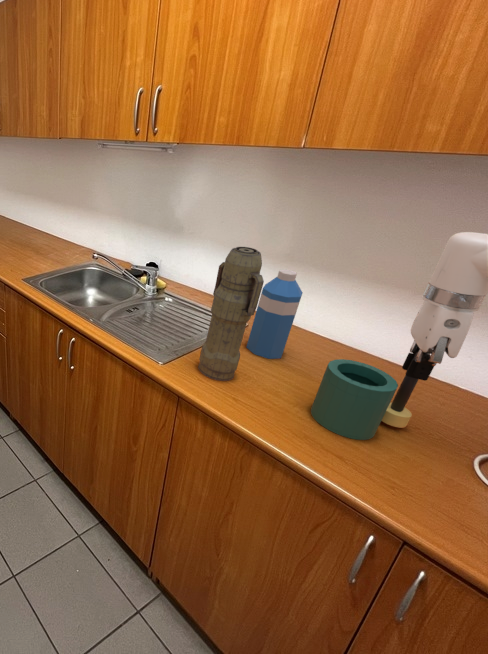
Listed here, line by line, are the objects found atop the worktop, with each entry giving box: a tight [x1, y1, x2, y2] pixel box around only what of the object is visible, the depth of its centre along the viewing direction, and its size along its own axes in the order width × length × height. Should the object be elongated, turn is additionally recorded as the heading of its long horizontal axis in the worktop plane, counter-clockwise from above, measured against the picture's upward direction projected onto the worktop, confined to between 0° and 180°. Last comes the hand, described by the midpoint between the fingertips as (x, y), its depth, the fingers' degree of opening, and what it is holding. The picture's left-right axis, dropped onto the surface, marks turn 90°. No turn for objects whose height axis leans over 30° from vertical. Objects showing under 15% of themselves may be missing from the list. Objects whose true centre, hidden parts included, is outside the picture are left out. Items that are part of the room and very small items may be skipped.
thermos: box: [197, 246, 265, 382], centre depth 101 cm, size 9×12×35 cm
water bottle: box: [245, 268, 303, 360], centre depth 112 cm, size 9×9×25 cm
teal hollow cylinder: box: [310, 358, 399, 441], centre depth 87 cm, size 11×11×13 cm
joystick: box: [381, 352, 429, 429], centre depth 85 cm, size 5×5×18 cm
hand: (414, 373), depth 84 cm, fingers closed on joystick
